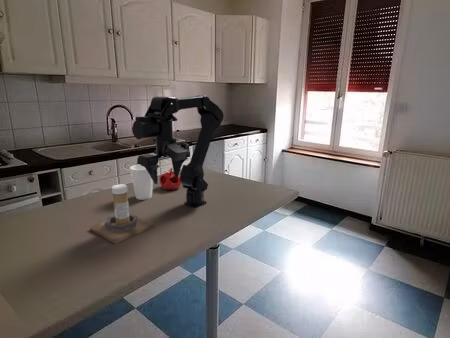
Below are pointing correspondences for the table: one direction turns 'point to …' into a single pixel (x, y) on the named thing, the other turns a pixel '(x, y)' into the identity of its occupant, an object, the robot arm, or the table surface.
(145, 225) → the collar plate
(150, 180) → the foam cup
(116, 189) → the sprinkles bottle
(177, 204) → the table surface
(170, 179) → the pomegranate
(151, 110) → the robot arm
